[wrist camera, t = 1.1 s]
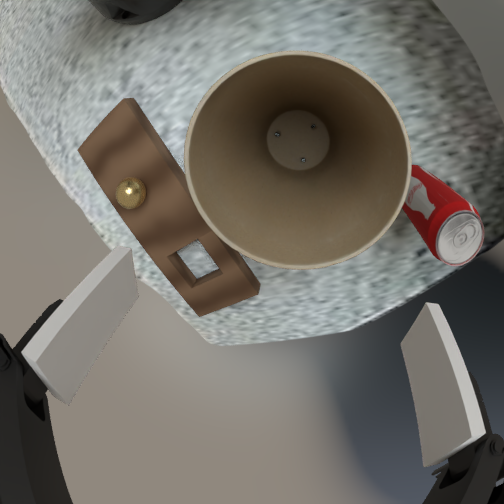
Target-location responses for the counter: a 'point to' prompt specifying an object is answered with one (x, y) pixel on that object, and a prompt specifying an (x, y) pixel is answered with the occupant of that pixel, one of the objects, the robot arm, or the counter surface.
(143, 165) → the board
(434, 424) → the robot arm
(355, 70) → the plant pot
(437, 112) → the counter surface
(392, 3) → the counter surface
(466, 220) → the beverage can
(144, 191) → the brass ball
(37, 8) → the counter surface
